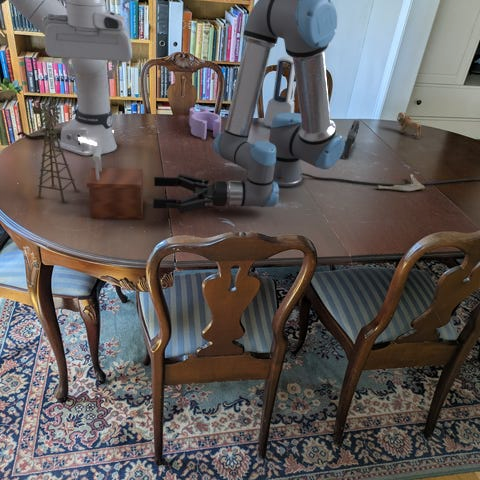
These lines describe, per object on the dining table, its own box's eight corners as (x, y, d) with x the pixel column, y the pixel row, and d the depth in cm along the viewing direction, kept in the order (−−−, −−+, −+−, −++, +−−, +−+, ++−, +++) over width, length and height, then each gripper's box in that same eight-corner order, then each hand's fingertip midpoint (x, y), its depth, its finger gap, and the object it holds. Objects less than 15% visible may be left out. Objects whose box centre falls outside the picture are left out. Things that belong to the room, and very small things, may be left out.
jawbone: (429, 189, 172) (431, 184, 171) (394, 201, 161) (396, 196, 160) (410, 177, 177) (412, 172, 176) (375, 189, 167) (376, 184, 165)
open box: (91, 218, 133) (88, 187, 128) (96, 201, 142) (93, 171, 136) (141, 218, 135) (140, 188, 130) (143, 202, 144) (142, 173, 138)
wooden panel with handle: (86, 187, 128) (84, 158, 123) (92, 171, 136) (89, 143, 131) (140, 188, 130) (139, 160, 125) (142, 173, 138) (141, 145, 134)
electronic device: (292, 127, 215) (303, 59, 199) (288, 132, 209) (299, 62, 192) (267, 122, 218) (275, 54, 201) (262, 126, 212) (270, 57, 195)
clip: (182, 123, 206) (183, 107, 202) (209, 122, 210) (210, 106, 207) (197, 140, 191) (197, 123, 187) (225, 138, 195) (226, 122, 191)
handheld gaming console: (349, 160, 187) (354, 136, 182) (342, 158, 188) (347, 134, 183) (355, 142, 206) (361, 119, 201) (349, 140, 207) (354, 118, 201)
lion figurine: (391, 130, 224) (396, 112, 219) (396, 128, 227) (401, 110, 222) (420, 139, 216) (426, 121, 211) (425, 137, 220) (431, 118, 215)
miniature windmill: (63, 202, 138) (50, 102, 122) (36, 197, 139) (20, 97, 123) (78, 189, 146) (67, 93, 130) (53, 185, 147) (39, 89, 131)
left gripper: (37, 15, 105) (45, 78, 113) (129, 22, 108) (131, 83, 116) (43, 11, 111) (51, 71, 118) (131, 18, 114) (133, 76, 121)
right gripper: (230, 226, 130) (152, 225, 127) (221, 185, 151) (154, 184, 148) (232, 202, 126) (152, 201, 123) (223, 164, 147) (154, 162, 143)
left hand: (91, 77), depth 117 cm, fingers open, 8 cm apart
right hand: (153, 191), depth 135 cm, fingers open, 13 cm apart
